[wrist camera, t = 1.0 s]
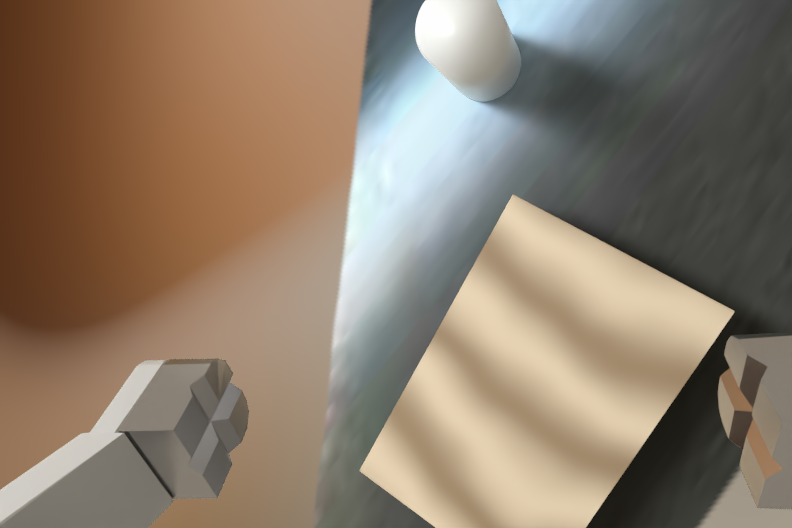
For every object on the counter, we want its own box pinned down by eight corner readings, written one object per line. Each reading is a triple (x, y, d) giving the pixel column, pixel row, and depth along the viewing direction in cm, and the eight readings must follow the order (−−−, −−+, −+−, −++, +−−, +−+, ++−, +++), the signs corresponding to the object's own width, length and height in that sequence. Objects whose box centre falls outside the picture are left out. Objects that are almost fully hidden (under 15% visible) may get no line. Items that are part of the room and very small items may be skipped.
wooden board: (523, 198, 39) (512, 194, 35) (717, 300, 36) (735, 311, 31) (385, 445, 44) (359, 470, 40) (542, 558, 40) (534, 601, 36)
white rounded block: (472, 19, 40) (440, -33, 32) (534, 46, 39) (517, -1, 31) (439, 84, 41) (401, 49, 33) (499, 113, 40) (473, 84, 32)
